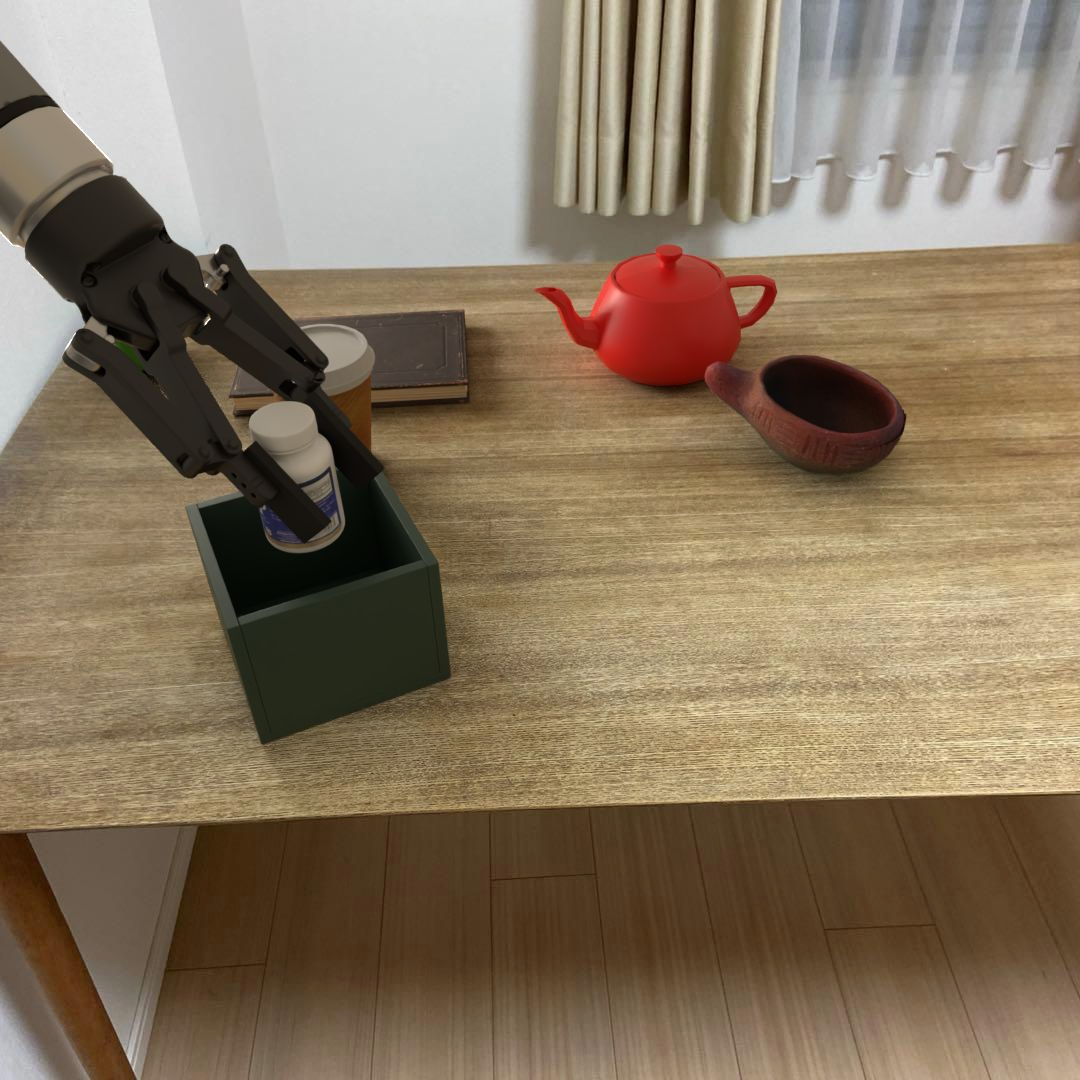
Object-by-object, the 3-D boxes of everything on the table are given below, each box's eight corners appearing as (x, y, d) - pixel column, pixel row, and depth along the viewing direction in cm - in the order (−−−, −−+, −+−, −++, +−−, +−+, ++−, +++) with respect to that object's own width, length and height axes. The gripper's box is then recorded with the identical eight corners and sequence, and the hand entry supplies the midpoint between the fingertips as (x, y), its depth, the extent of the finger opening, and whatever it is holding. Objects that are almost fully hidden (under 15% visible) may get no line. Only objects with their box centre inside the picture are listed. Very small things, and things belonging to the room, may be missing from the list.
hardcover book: (469, 402, 100) (467, 382, 99) (233, 416, 99) (228, 395, 98) (465, 325, 113) (464, 306, 111) (255, 336, 111) (251, 317, 110)
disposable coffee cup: (377, 428, 97) (361, 313, 89) (399, 484, 90) (383, 365, 82) (277, 447, 95) (251, 331, 87) (290, 507, 88) (264, 386, 80)
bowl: (854, 410, 98) (870, 335, 93) (917, 488, 88) (938, 409, 83) (693, 430, 96) (700, 355, 91) (739, 512, 86) (750, 433, 81)
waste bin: (261, 745, 68) (226, 629, 61) (219, 617, 77) (184, 505, 70) (451, 677, 72) (438, 562, 65) (389, 565, 82) (372, 454, 75)
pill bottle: (269, 509, 70) (243, 397, 64) (347, 502, 70) (327, 391, 64) (262, 559, 65) (232, 445, 60) (344, 552, 66) (322, 438, 60)
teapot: (743, 314, 113) (755, 207, 105) (796, 385, 101) (815, 271, 94) (522, 339, 110) (518, 230, 102) (551, 415, 98) (549, 299, 90)
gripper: (155, 195, 68) (391, 453, 73) (-76, 313, 56) (228, 615, 61) (199, 123, 63) (450, 407, 68) (-45, 235, 51) (284, 573, 55)
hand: (345, 504), depth 64 cm, fingers closed on pill bottle, 5 cm apart
